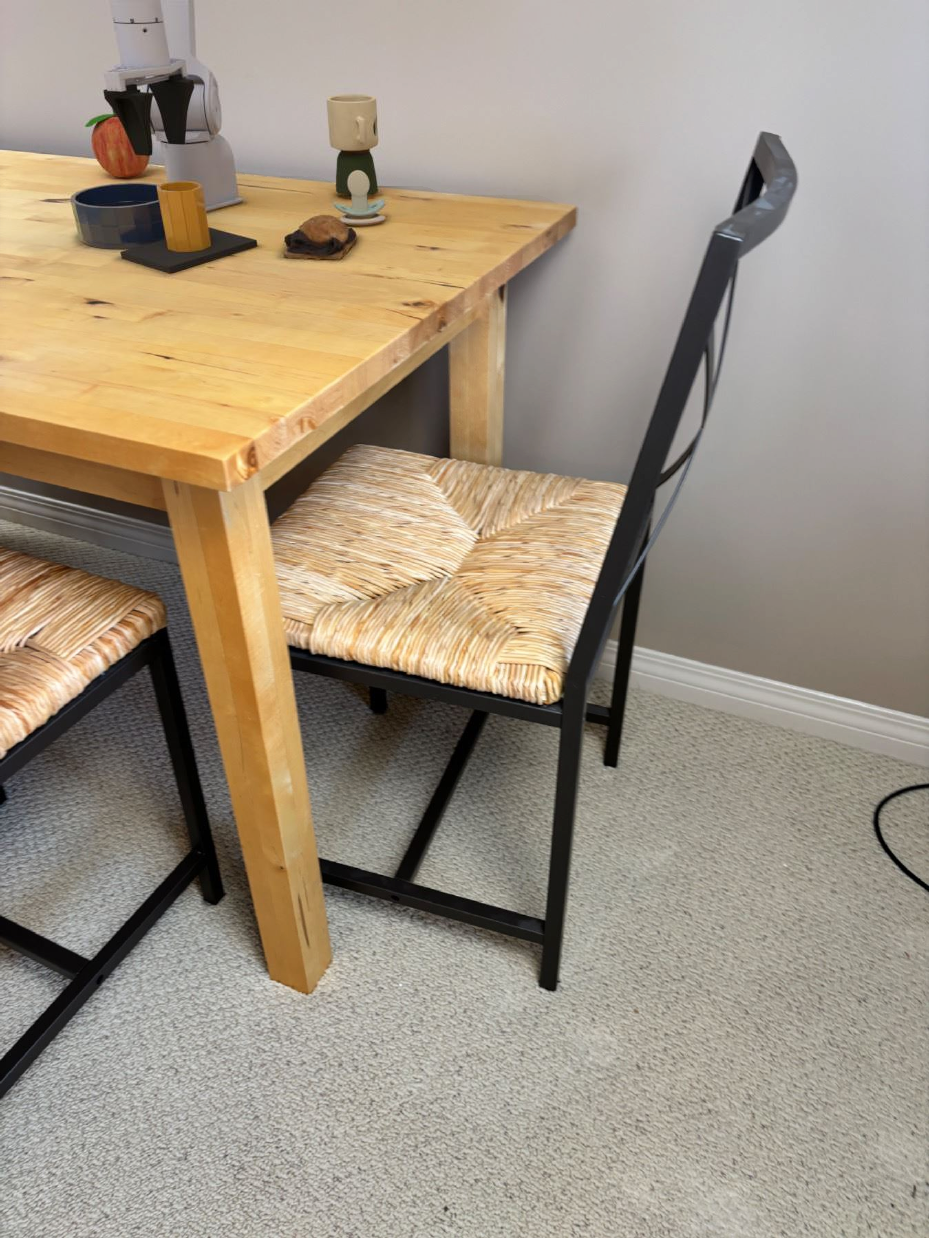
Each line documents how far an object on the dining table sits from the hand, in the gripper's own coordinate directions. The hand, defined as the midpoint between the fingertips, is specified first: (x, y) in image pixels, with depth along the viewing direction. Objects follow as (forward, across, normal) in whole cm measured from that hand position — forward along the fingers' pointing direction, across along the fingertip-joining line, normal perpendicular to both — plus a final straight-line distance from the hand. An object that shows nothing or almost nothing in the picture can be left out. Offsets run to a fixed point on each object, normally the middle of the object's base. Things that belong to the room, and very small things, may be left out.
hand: (160, 149), depth 118 cm
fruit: (+10, -27, -25) cm, 38 cm away
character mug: (+10, -27, +15) cm, 33 cm away
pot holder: (+11, +6, +6) cm, 13 cm away
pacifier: (+10, -14, +21) cm, 27 cm away
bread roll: (+11, -2, +20) cm, 23 cm away
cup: (+10, +6, +6) cm, 13 cm away
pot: (+10, +2, -6) cm, 12 cm away
